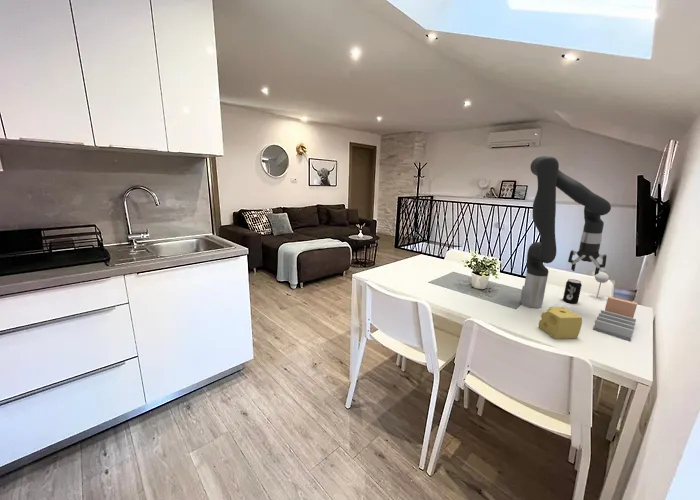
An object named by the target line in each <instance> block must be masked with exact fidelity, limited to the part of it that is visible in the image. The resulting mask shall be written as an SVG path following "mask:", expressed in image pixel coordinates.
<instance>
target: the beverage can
mask: <svg viewBox="0 0 700 500" xmlns="http://www.w3.org/2000/svg"><path fill="white" fill-rule="evenodd" d="M582 286H583V285H582V281H581V280H578V279H575V278H568V279H567V281H566V282H565V287H564V292H563V297H562V300H563V301H564V302H566V303H569V304H572V305H573V304H577V303H579V299H580V295H581V289H582Z"/></svg>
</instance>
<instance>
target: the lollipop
mask: <svg viewBox="0 0 700 500" xmlns="http://www.w3.org/2000/svg"><path fill="white" fill-rule="evenodd" d="M594 280H595V281H596V282H598V283H599V285H598V290H597V294H596V299H598V298H599V294H600V293H599V292H600V288H601V284H604V283H605V284H606V283H607V282H608V281H609V280H610V276H609V274H608V273H606V272H603V271H602V272H601V271H599V273H598V274H596V275H594Z"/></svg>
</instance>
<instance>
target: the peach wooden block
mask: <svg viewBox="0 0 700 500" xmlns="http://www.w3.org/2000/svg"><path fill="white" fill-rule="evenodd" d="M637 306H638V302H636V301H631V300H626V299H622V298H617V297H613V296H608V297H607V300H606V304H605V308H604V311H608V312H611V313H615V314H619V315H623V316H627V317H631V318H634V316H635V312H636V309H637Z"/></svg>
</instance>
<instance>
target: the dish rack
mask: <svg viewBox="0 0 700 500" xmlns="http://www.w3.org/2000/svg"><path fill="white" fill-rule="evenodd" d="M596 317H597V318H596V319H595V320H594V325H593V327H592V330H593V331H595V332H598V333H601V334H605V335H609V336H612V337H615V338H618V339H621V340H625V341H628V342H630V341H631V338H632V335H633V332H634V329H635V325H636V321H637V318H634V317H633V318H631V317H627V316H623V315H619V314H615V313H611V312H608V311H605V309H603V310H602V309H600V311H599V313H598V315H597V316H596Z"/></svg>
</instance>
